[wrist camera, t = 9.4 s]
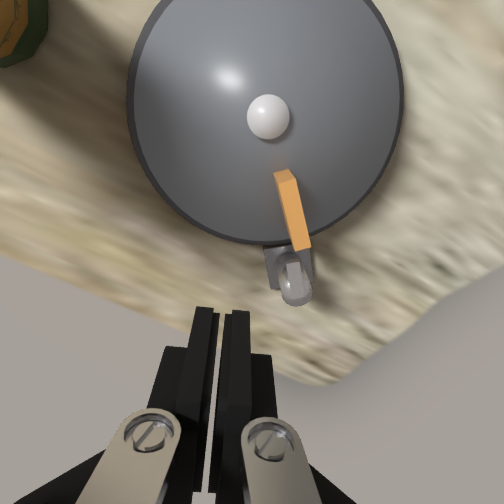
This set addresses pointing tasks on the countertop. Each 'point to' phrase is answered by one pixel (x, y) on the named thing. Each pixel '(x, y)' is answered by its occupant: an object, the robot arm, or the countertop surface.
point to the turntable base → (133, 131)
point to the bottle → (21, 29)
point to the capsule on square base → (290, 272)
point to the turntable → (266, 112)
